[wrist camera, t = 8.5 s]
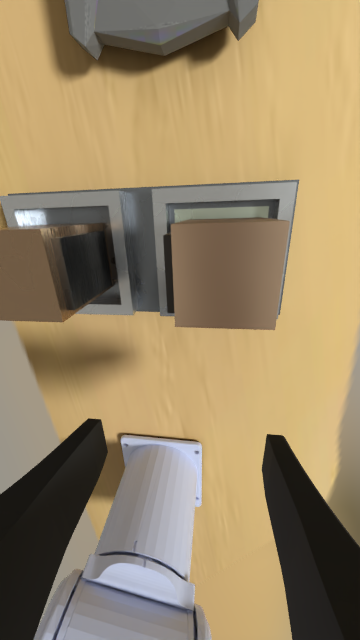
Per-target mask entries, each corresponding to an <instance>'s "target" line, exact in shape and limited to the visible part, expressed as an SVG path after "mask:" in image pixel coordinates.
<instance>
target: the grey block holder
mask: <svg viewBox="0 0 360 640" xmlns="http://www.w3.org/2000/svg"><path fill="white" fill-rule="evenodd" d="M298 184H299V180H284V181H264V182H243V183H223V184H202V185H182V186H161V187H141V188H121V189H100V190H80V191H59V192H39V193H18V194H8V196H0V201H1V205H2V208H3V212H4V215H5V218H6V222H7V225H8V227H2V228H0V320H8V321H39V322H64V321H65V320H67V319H68V318H70V317H71V316H72V315H74V314H106V315H134V314H135V312H136V311H148V312H160V316H175V313H167V296H166V279H165V261H164V243H163V235H165V234H167V233H170V232H171V224H174V223H177V222H181V221H185V220H189V219H221V218H254V217H262V218H270V219H278V220H286V221H290V224H289V232H288V239H287V246H286V253H285V261H284V268H283V275H282V282H281V290H280V297H279V304H278V311H277V319H278V315H280V309H281V302H282V295H283V288H284V281H285V274H286V267H287V260H288V253H289V246H290V239H291V232H292V225H293V218H294V211H295V204H296V197H297V191H298Z"/></svg>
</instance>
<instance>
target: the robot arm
mask: <svg viewBox="0 0 360 640" xmlns="http://www.w3.org/2000/svg"><path fill="white" fill-rule="evenodd" d="M121 446H122V452H123V457H124V463H125V470H124V473H123V476H122V479H121V481H120V484H119V487H118V490H117V493H116V495H115V498H114V501H113V504H112V506H111V509H110V512H109V515H108V518H107V520H106V523H105V526H104V529H103V532H102V534H101V537H100V540H99V543H98V545H97V548H96V551H95V554H90V555H89V558H88V561H87V563H86V566H85V568H84V571H83V570H80V569H75V570H74V571H73V572H72V573H71V574H70V575H69V576H67V577H66V578H65V579H64V580H62V582H61V583H60V584H59V586H58V588H57V590H56V591H55V593H54V595H53V597H52V599H51V601H50V603H49V605H48V607H47V610H46V612H45V614H44V616H43V618H42V621H41V623H40V625H39V622H40V619H41V616H42V613H43V610H44V607H45V605H46V602H47V599H48V596H49V594H50V591H51V588H52V585H53V582H54V580H55V577H56V574H57V572H58V569H59V566H60V564H61V561H62V559H63V556H64V553H65V550H66V548H67V546H68V544H69V541H70V539H71V537H72V534H73V532H74V530H75V528H76V526H77V524H78V522H79V519H80V517H81V515H82V513H83V511H84V509H85V507H86V504H87V502H88V500H89V498H90V496H91V494H92V492H93V489H94V487H95V485H96V483H97V481H98V478H99V476H100V473H101V470H102V468H103V465H104V462H105V459H106V456H107V453H108V450H107V446H106V441H105V436H104V431H103V426H102V422H101V420H100V419H89V418H88V419H87V420H86V421H85V422H84V423H83V424H82V425H81V426H80V427H78V428H77V429H76V430H75V431H74V432H73V433H72V434H71V435H70V436H69V437H68V438H67V439H65V440H64V441H63V442H62V443H61V444H60V445H59V446H58V447H57V448H56V449H55V450H54V451H52V452H51V453H50V454H49V455H48V456H47V457H46V458H44V459H43V460H42V461H41V462H40V463H39V464H38V465H36V466H35V467H34V468H33V469H32V470H30V471H29V472H28V473H27V474H26V475H24V476H23V477H22V478H21V479H20V480H18V481H17V482H16V483H14V484H13V485H12V486H11V487H9V488H8V489H7V490H6V491H4V492H3V493H2V494H0V640H212V639H211V632H210V627H209V624H208V622H207V619H206V617H205V614H204V611H203V609H202V607H201V606H200V605H197V604H194V595H195V585H194V584H193V583H190V582H189V578H190V565H191V552H192V538H193V525H194V512H195V506H196V507H199V506H201V495H202V445H201V443H199V442H194V441H184V440H174V439H164V438H153V437H143V436H133V435H123V436H122V437H121ZM196 450H197V451H196ZM262 473H263V482H264V490H265V497H266V502H267V506H268V511H269V516H270V520H271V525H272V529H273V534H274V538H275V542H276V547H277V552H278V556H279V561H280V565H281V569H282V575H283V580H284V585H285V591H286V599H287V605H288V612H289V619H290V625H291V632H292V639H293V640H360V547H359V545H358V544H357V543H356V542H355V540H354V539H353V538H352V537H351V536H350V534H349V533H348V531H347V530H346V529H345V528H344V526H343V525H342V524H341V522H340V521H339V519H338V518H337V517H336V515H335V514H334V513H333V511H332V510H331V509H330V507H329V506H328V504H327V503H326V502H325V500H324V499H323V497H322V496H321V494H320V493H319V492H318V490H317V489H316V487H315V486H314V484H313V483H312V481H311V480H310V478H309V477H308V475H307V474H306V472H305V471H304V469H303V467H302V466H301V464H300V463H299V461H298V459H297V458H296V456H295V454H294V453H293V451H292V449H291V448H290V446H289V444H288V442H287V441H286V439H285V437H284V436H282V435H270V434H267V438H266V444H265V451H264V458H263V464H262ZM38 625H39V628H38ZM37 628H38V630H37ZM36 631H37V632H36ZM35 634H36V635H35Z"/></svg>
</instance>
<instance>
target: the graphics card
mask: <svg viewBox="0 0 360 640" xmlns="http://www.w3.org/2000/svg"><path fill="white" fill-rule="evenodd" d="M258 1H259V0H65V6H66V13H67V19H68V26H69V32H70V35H71V36H72V37H73V38H74V39H75V40H76V41H77V43H78V44H79V45H80V46H81V47H82V48H83V49H84V50H85V51H87V52H88V53H89V54H90V55H91V56H93V57H94V58H95V59H96V60H98V58H99V56H100V54H101V51H102V49H103V47H104V45H109V46H115V47H120V48H125V49H131V50H136V51H141V52H147V53H152V54H157V55H163V56H166V55H168V54H170V53H172V52H174V51H176V50H178V49H180V48H183V47H185V46H187V45H189V44H191V43H193V42H195V41H198V40H200V39H202V38H204V37H206V36H208V35H210V34H212V33H215V32H217V31H219V30H221V29H223V28H225V27H227V26H229V28H230V29H231V31H232V32H233V34H234V35H235V37H236V38H237V40H238V41H239V39H240V38H241V37H242V36H243V35H244V34H245V33H246V32H247V31H248V30H249V29H250V27H251V26H252V25H253V24H254V23H255V21H256V15H257V8H258Z"/></svg>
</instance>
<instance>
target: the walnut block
mask: <svg viewBox="0 0 360 640" xmlns="http://www.w3.org/2000/svg"><path fill="white" fill-rule="evenodd" d="M289 224H290V221H286V220H278V219H270V218H262V217H254V218H221V219H189V220H185V221H181V222H177V223H174V224H171V232H170V233H167V234H165V235H163V243H164V261H165V279H166V296H167V313H175V327H196V328H228V329H260V330H275V326H276V319H277V311H278V304H279V297H280V290H281V282H282V275H283V268H284V261H285V253H286V246H287V239H288V232H289Z"/></svg>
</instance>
